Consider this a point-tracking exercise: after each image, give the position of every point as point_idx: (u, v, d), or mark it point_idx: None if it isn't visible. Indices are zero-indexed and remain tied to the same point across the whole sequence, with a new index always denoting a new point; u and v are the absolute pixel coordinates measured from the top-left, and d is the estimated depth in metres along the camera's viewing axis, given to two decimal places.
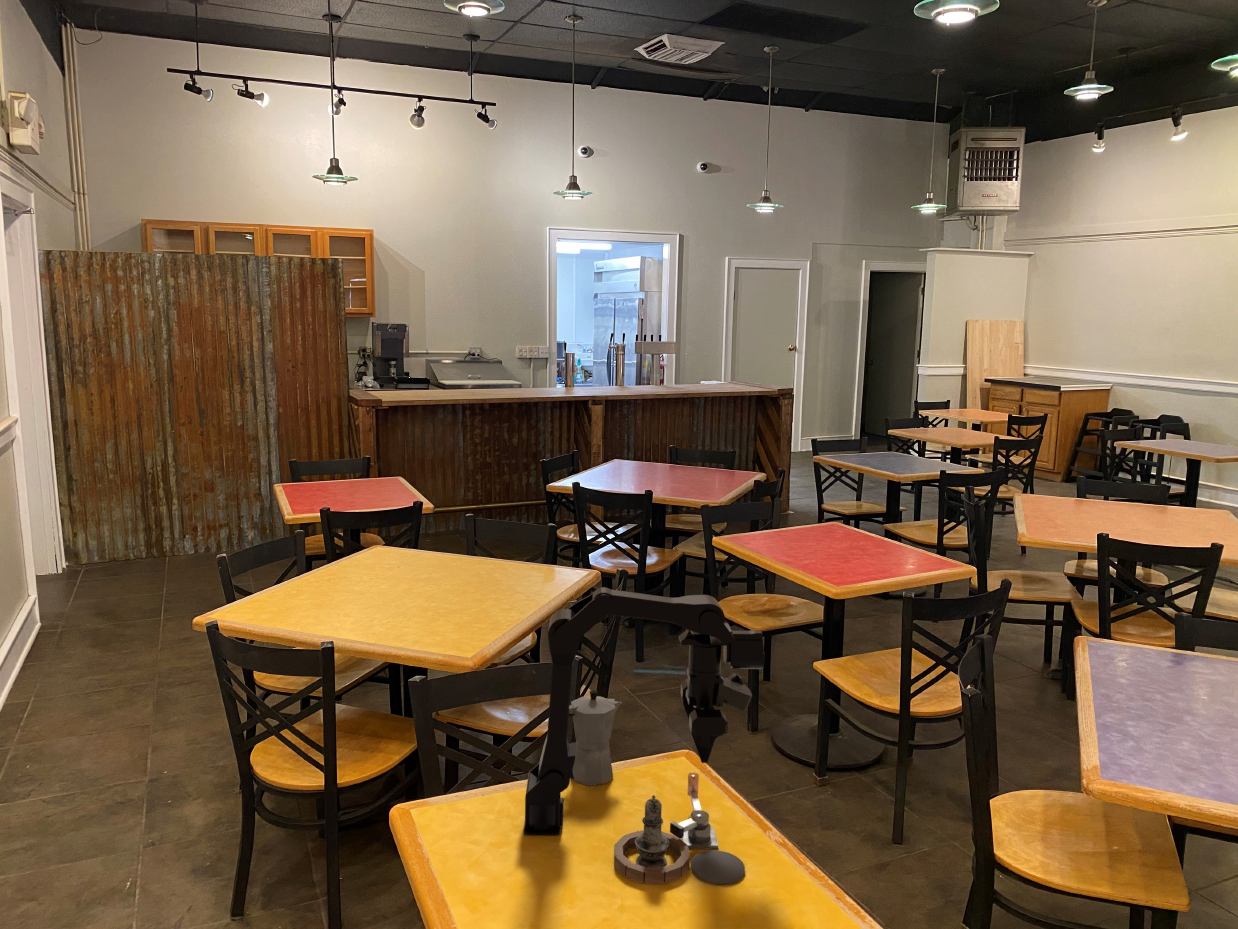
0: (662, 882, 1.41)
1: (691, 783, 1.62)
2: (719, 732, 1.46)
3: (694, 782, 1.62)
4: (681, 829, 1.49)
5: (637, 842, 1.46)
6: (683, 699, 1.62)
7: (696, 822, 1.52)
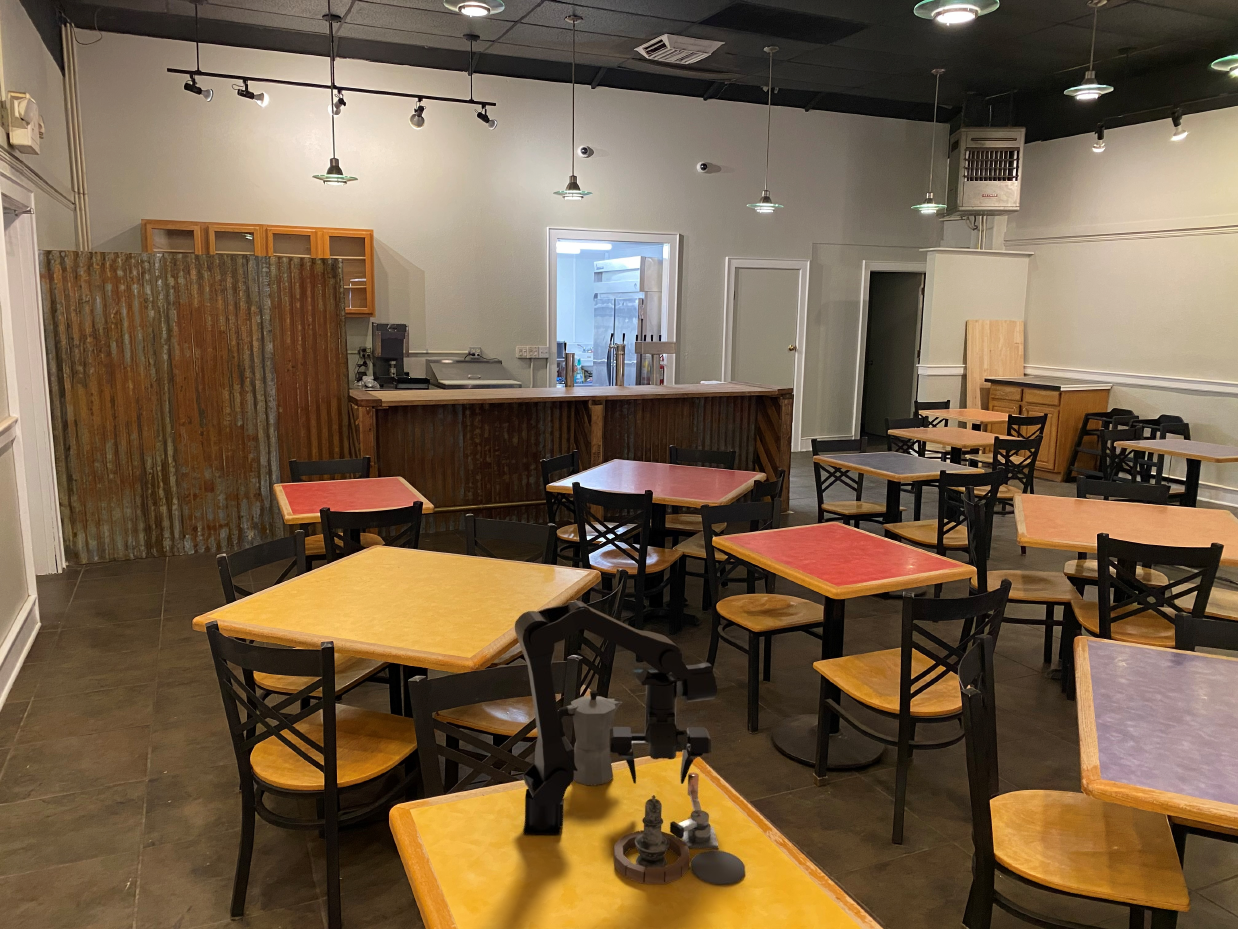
0: (662, 882, 1.41)
1: (691, 783, 1.62)
2: None
3: (694, 782, 1.62)
4: (681, 829, 1.49)
5: (637, 842, 1.46)
6: None
7: (696, 822, 1.52)
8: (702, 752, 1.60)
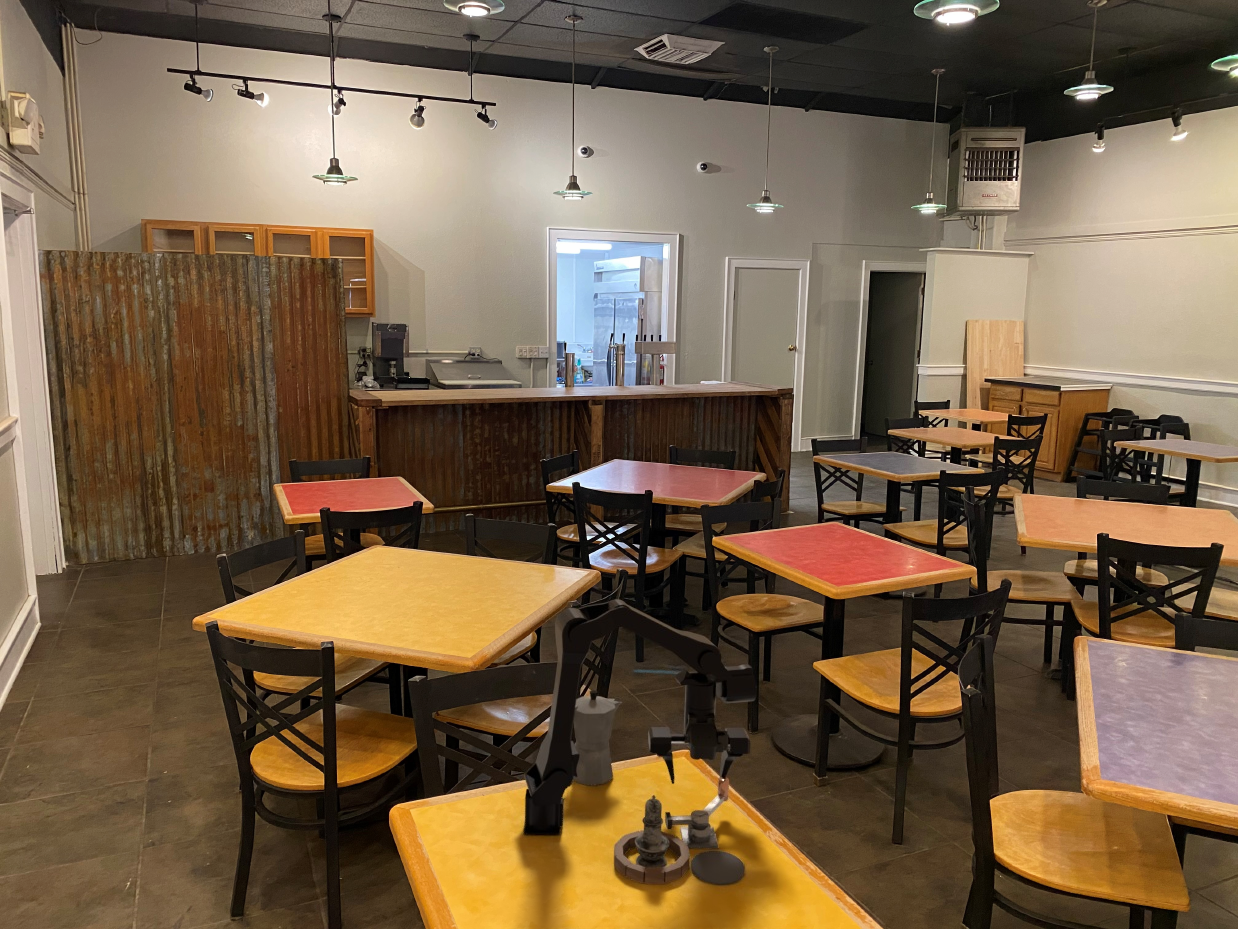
0: (662, 882, 1.41)
1: (719, 787, 1.61)
2: None
3: (721, 786, 1.61)
4: (669, 820, 1.52)
5: (637, 842, 1.46)
6: None
7: (692, 820, 1.53)
8: (742, 752, 1.60)
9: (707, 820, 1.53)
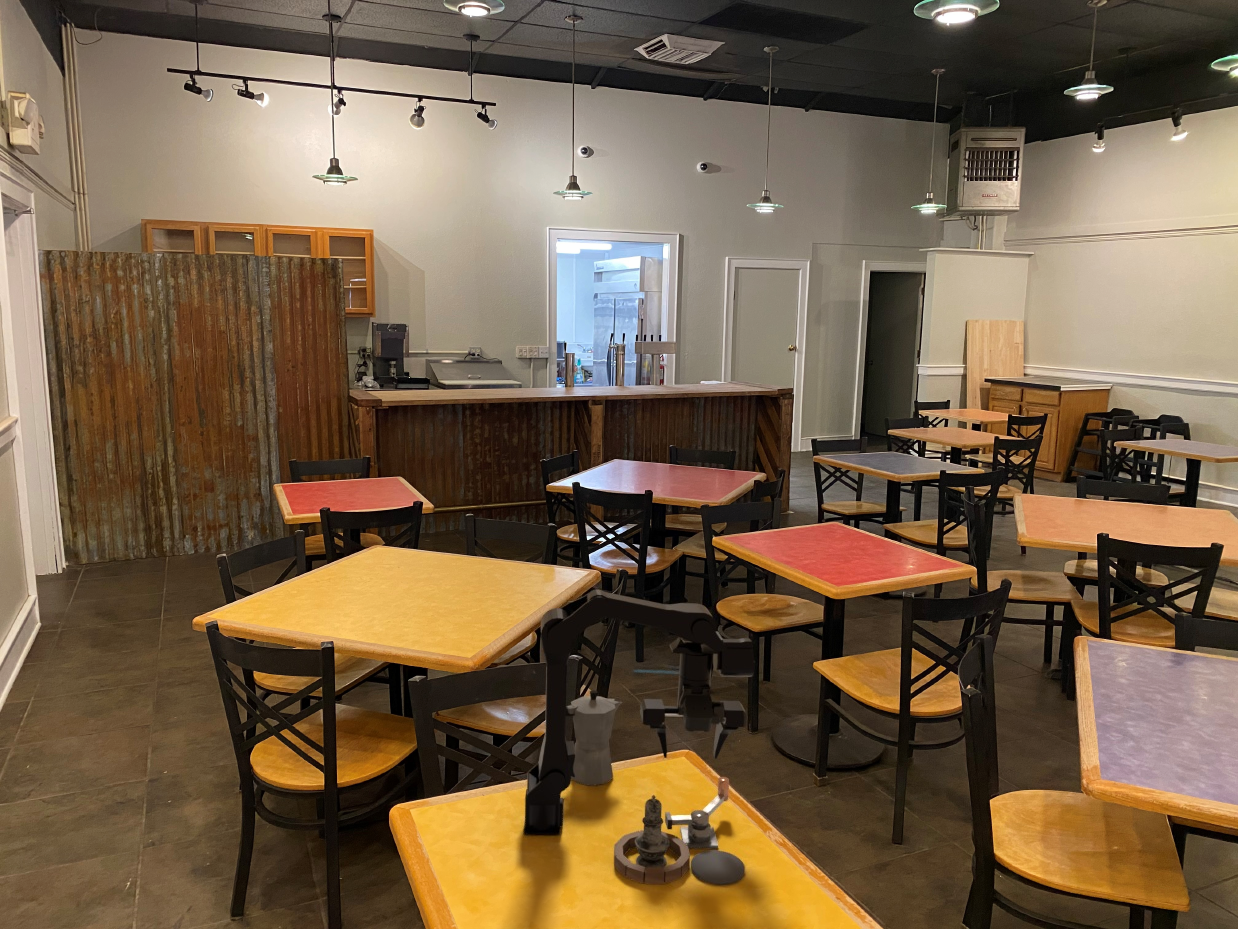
0: (662, 882, 1.41)
1: (719, 787, 1.61)
2: (642, 720, 1.55)
3: (721, 786, 1.61)
4: (669, 820, 1.52)
5: (637, 842, 1.46)
6: None
7: (692, 820, 1.53)
8: (737, 725, 1.55)
9: (707, 820, 1.53)
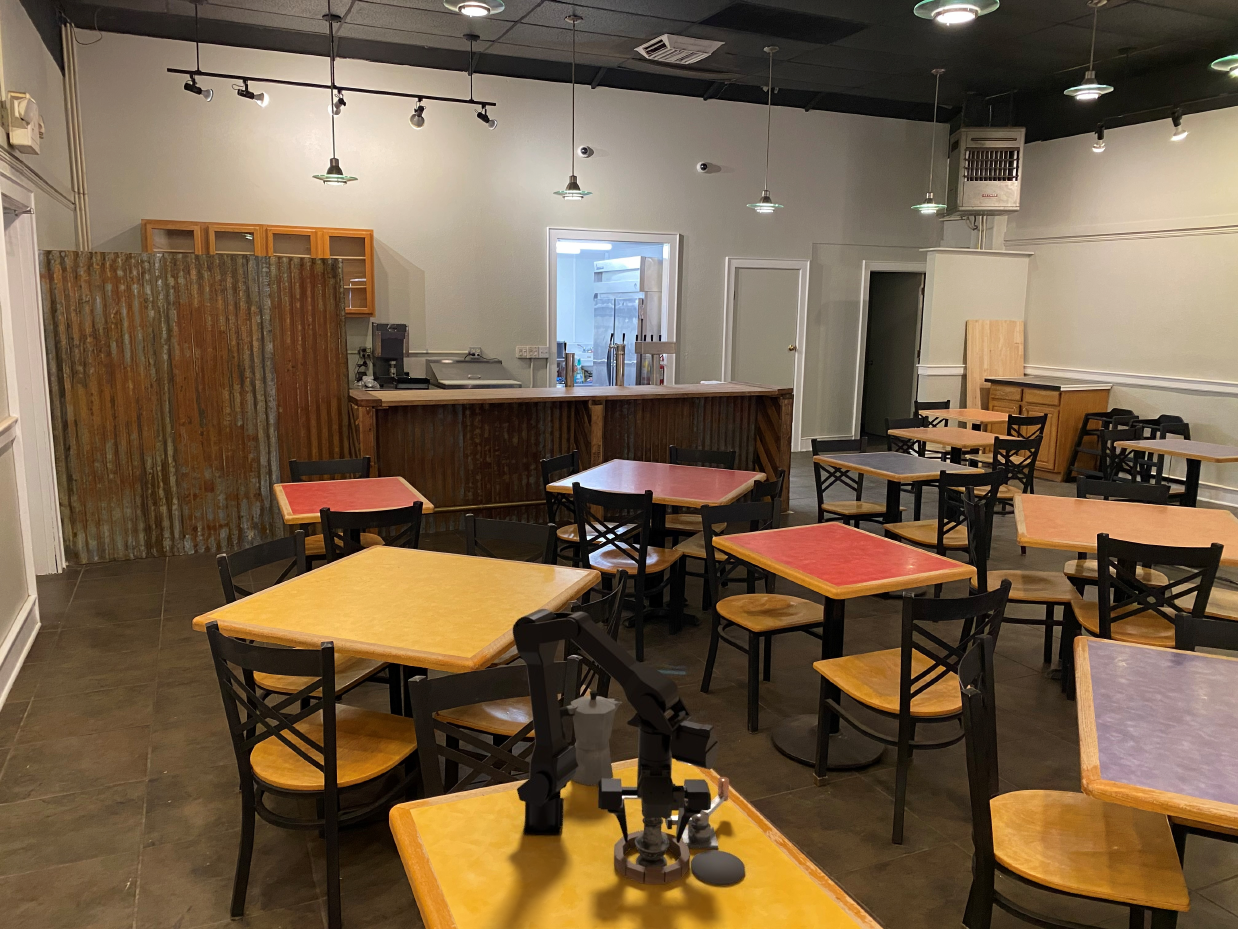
0: (662, 882, 1.41)
1: (719, 787, 1.61)
2: None
3: (721, 786, 1.61)
4: (669, 820, 1.52)
5: (637, 842, 1.46)
6: None
7: (692, 820, 1.53)
8: (701, 809, 1.43)
9: (707, 820, 1.53)
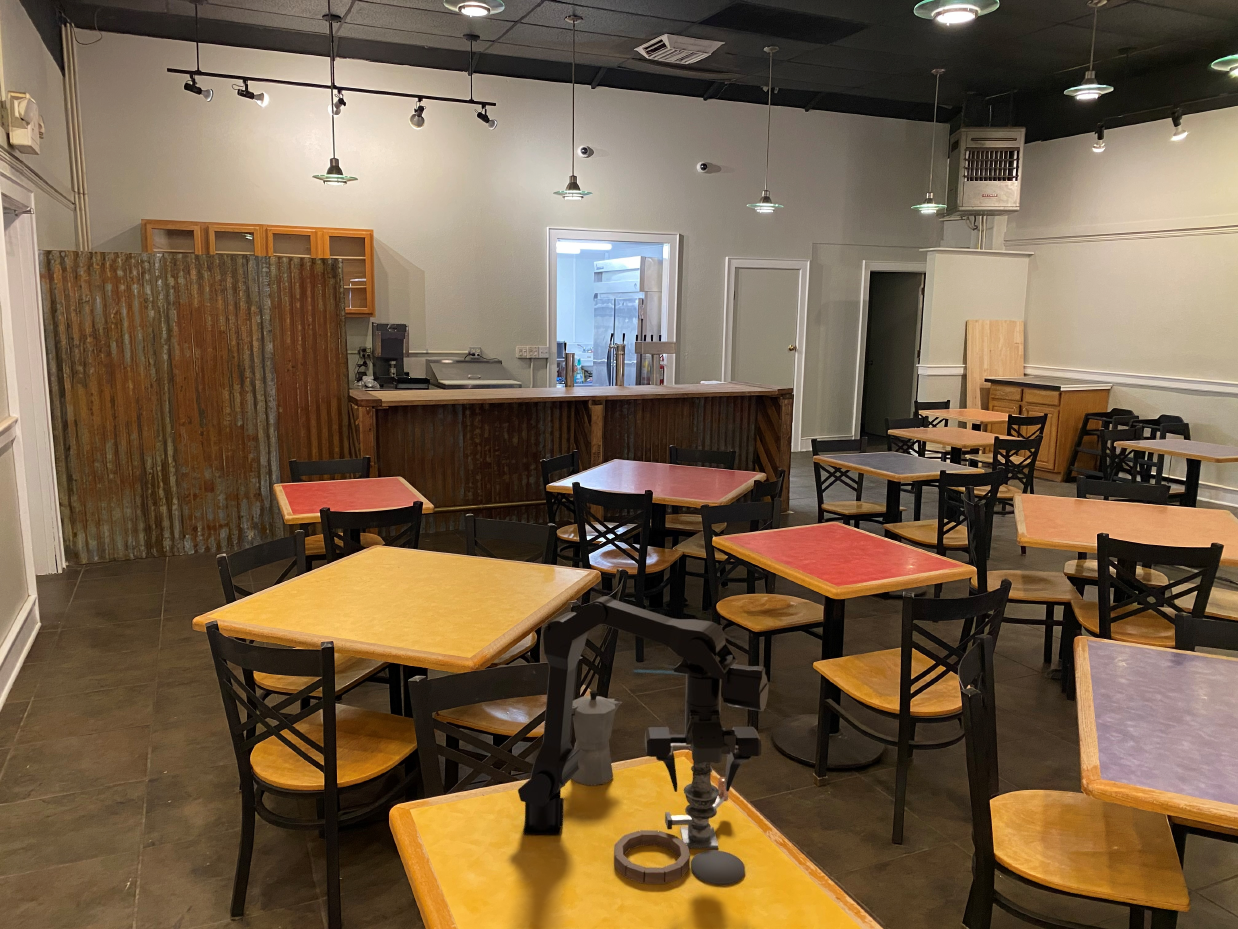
0: (662, 882, 1.41)
1: (719, 787, 1.61)
2: (646, 751, 1.41)
3: (721, 786, 1.61)
4: (669, 820, 1.52)
5: (687, 793, 1.43)
6: None
7: (692, 820, 1.53)
8: (751, 755, 1.40)
9: (707, 820, 1.53)
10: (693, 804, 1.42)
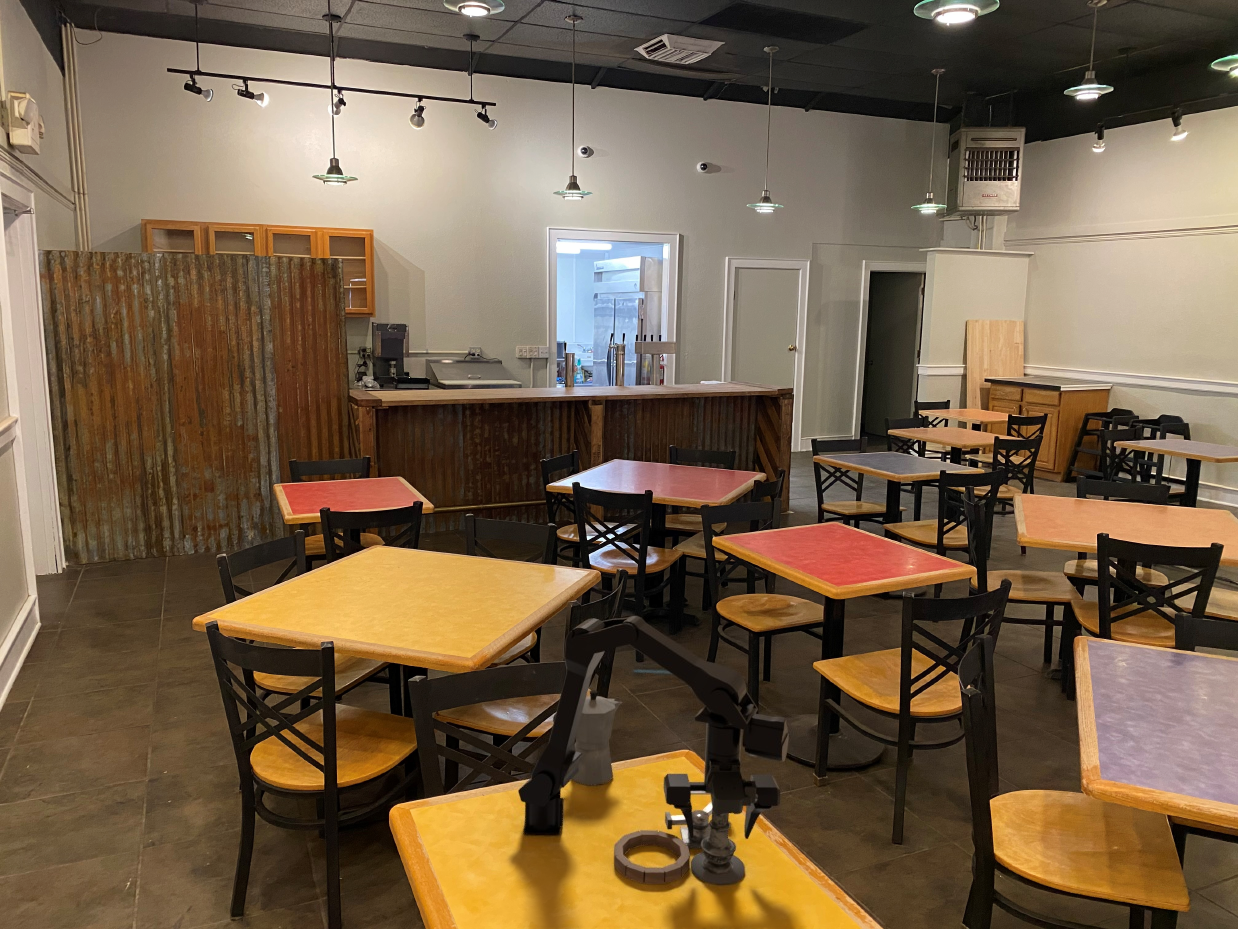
0: (662, 882, 1.41)
1: None
2: (665, 798, 1.42)
3: None
4: (669, 820, 1.52)
5: (703, 842, 1.45)
6: None
7: None
8: (770, 804, 1.41)
9: (707, 820, 1.53)
10: (704, 854, 1.44)
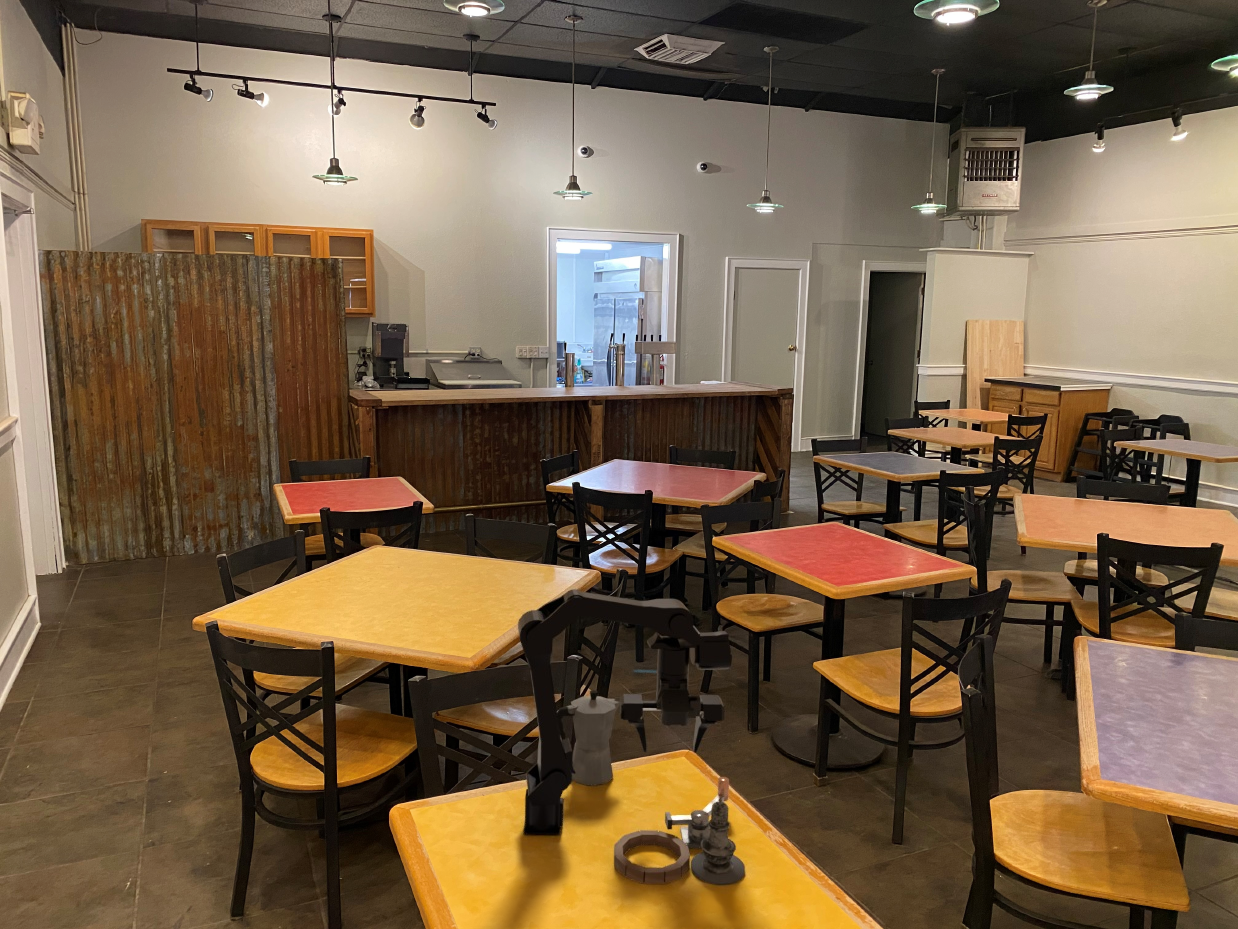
0: (662, 882, 1.41)
1: (719, 787, 1.61)
2: None
3: (721, 786, 1.61)
4: (669, 820, 1.52)
5: (703, 842, 1.45)
6: None
7: (692, 820, 1.53)
8: (715, 719, 1.56)
9: (707, 820, 1.53)
10: (704, 854, 1.44)
